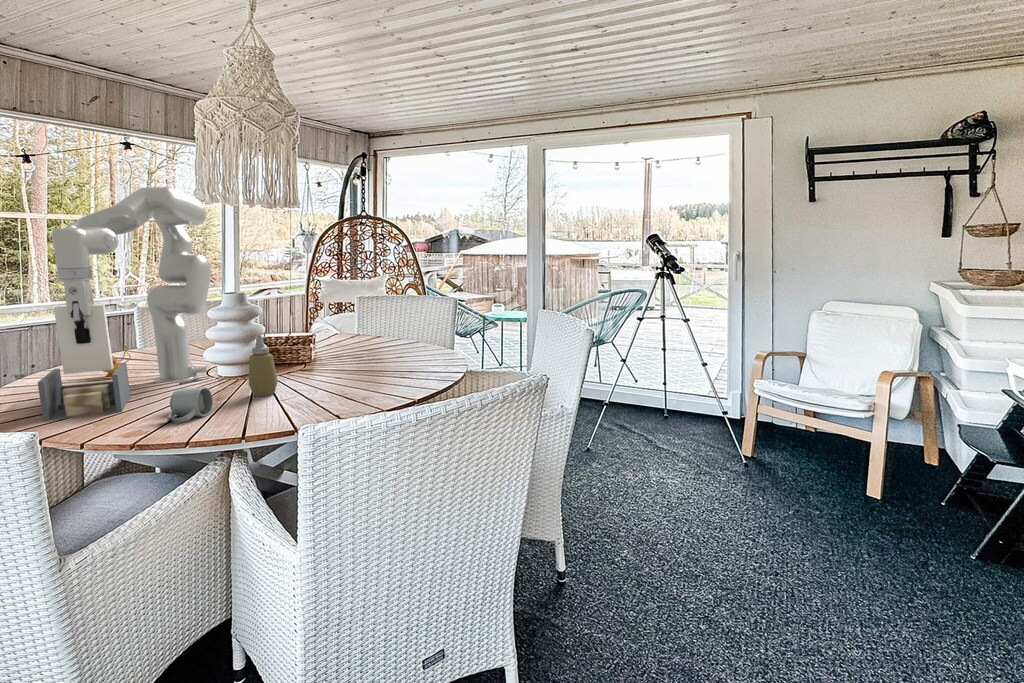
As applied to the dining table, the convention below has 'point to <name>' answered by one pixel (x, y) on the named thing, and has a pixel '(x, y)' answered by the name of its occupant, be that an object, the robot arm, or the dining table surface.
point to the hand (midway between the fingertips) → (85, 341)
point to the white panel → (85, 354)
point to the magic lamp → (116, 363)
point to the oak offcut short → (84, 403)
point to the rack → (53, 386)
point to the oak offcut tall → (90, 389)
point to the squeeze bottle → (262, 370)
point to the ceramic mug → (190, 403)
